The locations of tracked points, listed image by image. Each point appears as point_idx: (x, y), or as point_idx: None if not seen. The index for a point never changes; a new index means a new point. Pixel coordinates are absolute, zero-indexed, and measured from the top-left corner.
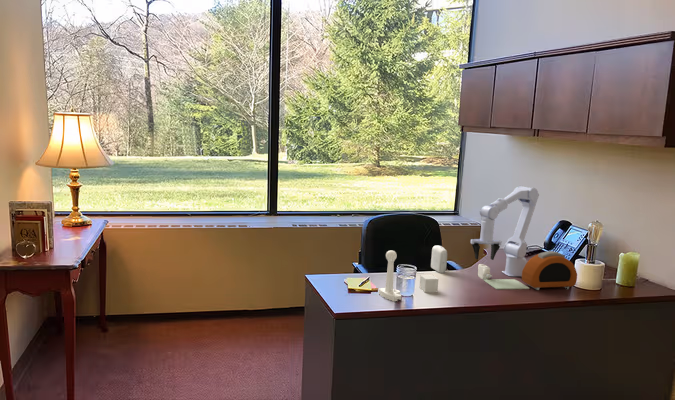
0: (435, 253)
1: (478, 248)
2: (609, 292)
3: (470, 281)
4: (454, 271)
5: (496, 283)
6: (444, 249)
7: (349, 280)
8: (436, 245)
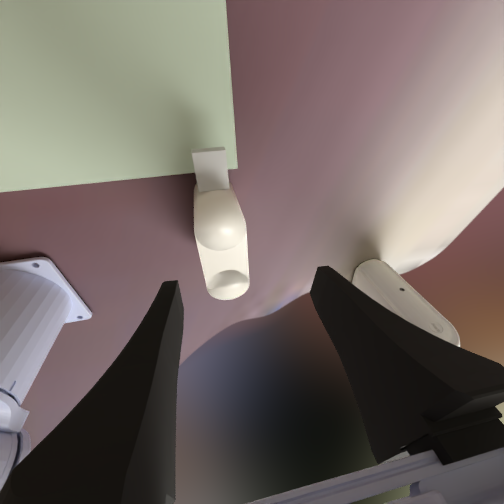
0: None
1: (428, 355)
2: None
3: (325, 142)
4: (311, 283)
5: (169, 61)
6: None
7: None
8: None
